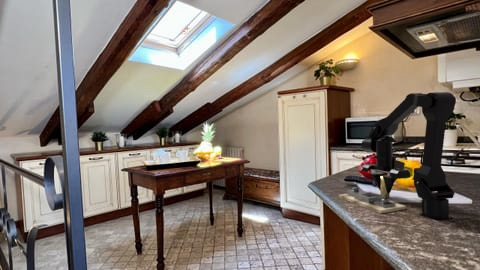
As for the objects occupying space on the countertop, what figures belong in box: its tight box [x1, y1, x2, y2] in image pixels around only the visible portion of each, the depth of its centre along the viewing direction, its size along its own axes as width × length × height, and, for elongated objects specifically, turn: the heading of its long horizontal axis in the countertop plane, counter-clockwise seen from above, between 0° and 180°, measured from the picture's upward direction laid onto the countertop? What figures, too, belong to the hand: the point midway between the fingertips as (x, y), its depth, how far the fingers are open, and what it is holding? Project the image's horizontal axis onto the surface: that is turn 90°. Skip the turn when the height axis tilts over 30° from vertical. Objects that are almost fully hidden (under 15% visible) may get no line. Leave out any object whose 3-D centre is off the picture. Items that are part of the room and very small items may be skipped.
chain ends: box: [346, 186, 396, 208], centre depth 103 cm, size 19×8×3 cm, turn 17°
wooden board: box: [338, 193, 407, 214], centre depth 103 cm, size 22×11×1 cm, turn 17°
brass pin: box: [380, 174, 391, 200], centre depth 107 cm, size 3×3×9 cm
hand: (385, 192), depth 108 cm, fingers closed on brass pin, 3 cm apart
